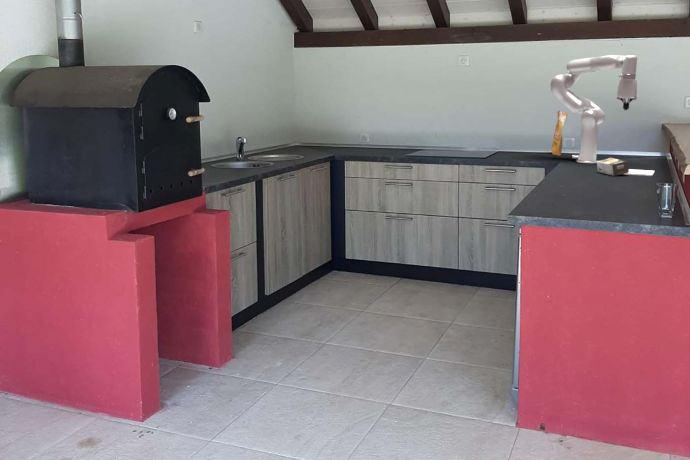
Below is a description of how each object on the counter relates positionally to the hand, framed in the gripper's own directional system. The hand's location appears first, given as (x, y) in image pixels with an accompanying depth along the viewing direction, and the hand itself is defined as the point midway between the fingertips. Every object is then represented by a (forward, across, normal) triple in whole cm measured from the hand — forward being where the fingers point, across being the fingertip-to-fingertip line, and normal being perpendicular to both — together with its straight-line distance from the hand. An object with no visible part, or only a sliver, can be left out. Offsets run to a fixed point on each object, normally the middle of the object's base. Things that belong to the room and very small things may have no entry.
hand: (625, 109), depth 422 cm
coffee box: (+28, -4, -34) cm, 44 cm away
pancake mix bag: (+32, -45, +40) cm, 68 cm away
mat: (+32, +11, -31) cm, 46 cm away
